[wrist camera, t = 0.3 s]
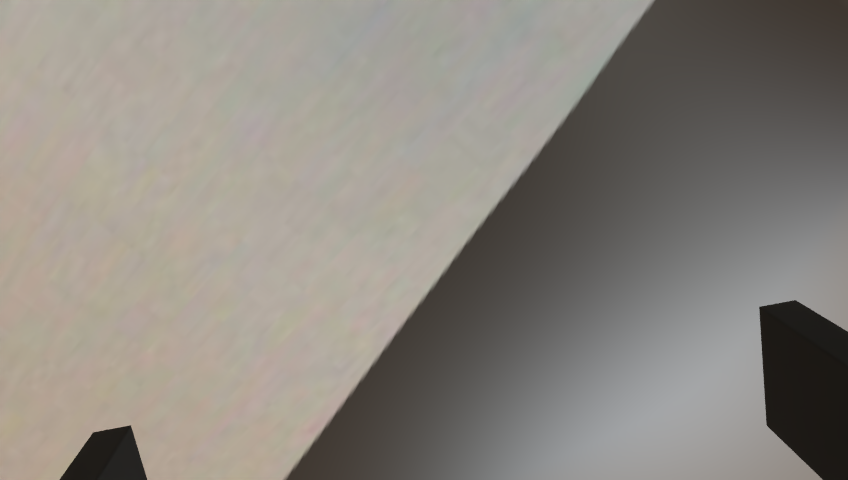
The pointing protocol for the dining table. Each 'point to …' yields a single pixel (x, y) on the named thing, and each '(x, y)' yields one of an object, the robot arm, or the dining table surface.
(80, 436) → the dining table surface
